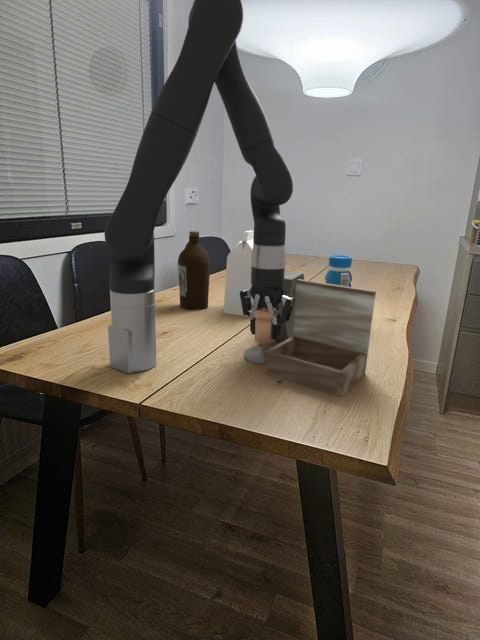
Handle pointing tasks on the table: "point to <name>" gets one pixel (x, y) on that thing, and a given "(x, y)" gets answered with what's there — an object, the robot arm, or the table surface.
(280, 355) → the hinged wooden box
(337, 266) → the beverage bottle
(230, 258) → the milk
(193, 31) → the robot arm
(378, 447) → the table surface
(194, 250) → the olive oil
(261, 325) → the round cabinet knob
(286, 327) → the planter
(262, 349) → the saucer
